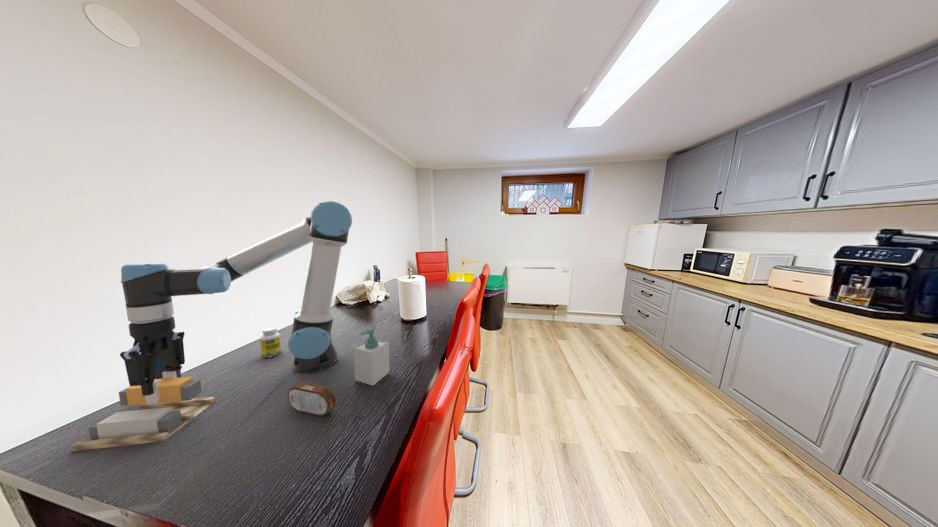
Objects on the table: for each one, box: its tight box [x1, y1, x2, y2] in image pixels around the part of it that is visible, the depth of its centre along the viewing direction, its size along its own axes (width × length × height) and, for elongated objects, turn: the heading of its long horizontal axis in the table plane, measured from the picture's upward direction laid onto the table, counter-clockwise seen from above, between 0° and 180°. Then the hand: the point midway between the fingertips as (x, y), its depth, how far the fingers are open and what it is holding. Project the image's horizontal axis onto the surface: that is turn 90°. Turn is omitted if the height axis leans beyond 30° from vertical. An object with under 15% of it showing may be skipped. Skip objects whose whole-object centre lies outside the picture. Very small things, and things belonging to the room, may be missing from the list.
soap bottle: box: [353, 326, 391, 387], centre depth 87 cm, size 9×9×19 cm
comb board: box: [71, 396, 216, 452], centre depth 65 cm, size 18×15×2 cm
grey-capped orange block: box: [118, 376, 202, 407], centre depth 67 cm, size 16×4×5 cm, turn 100°
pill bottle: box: [260, 326, 282, 358], centre depth 103 cm, size 6×6×12 cm
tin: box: [287, 381, 337, 417], centre depth 70 cm, size 15×3×8 cm, turn 77°
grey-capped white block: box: [88, 407, 182, 440], centre depth 61 cm, size 16×4×5 cm, turn 100°
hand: (163, 397), depth 67 cm, fingers closed on grey-capped orange block, 4 cm apart
